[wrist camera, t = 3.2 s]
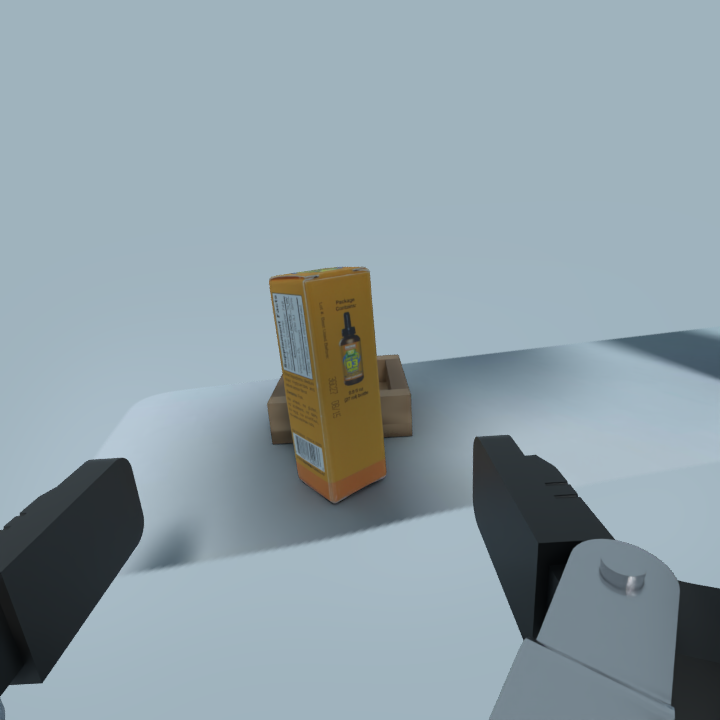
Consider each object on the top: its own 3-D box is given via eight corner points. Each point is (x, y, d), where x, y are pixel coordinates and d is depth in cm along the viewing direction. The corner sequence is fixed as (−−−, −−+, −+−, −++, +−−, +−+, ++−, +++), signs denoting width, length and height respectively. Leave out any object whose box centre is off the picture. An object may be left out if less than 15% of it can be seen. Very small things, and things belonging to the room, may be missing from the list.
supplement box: (346, 453, 24) (330, 264, 21) (388, 479, 21) (377, 266, 18) (291, 477, 22) (265, 272, 19) (331, 509, 19) (308, 275, 16)
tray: (399, 386, 33) (398, 354, 32) (412, 435, 25) (410, 394, 24) (292, 393, 33) (288, 361, 32) (272, 444, 25) (267, 403, 24)
